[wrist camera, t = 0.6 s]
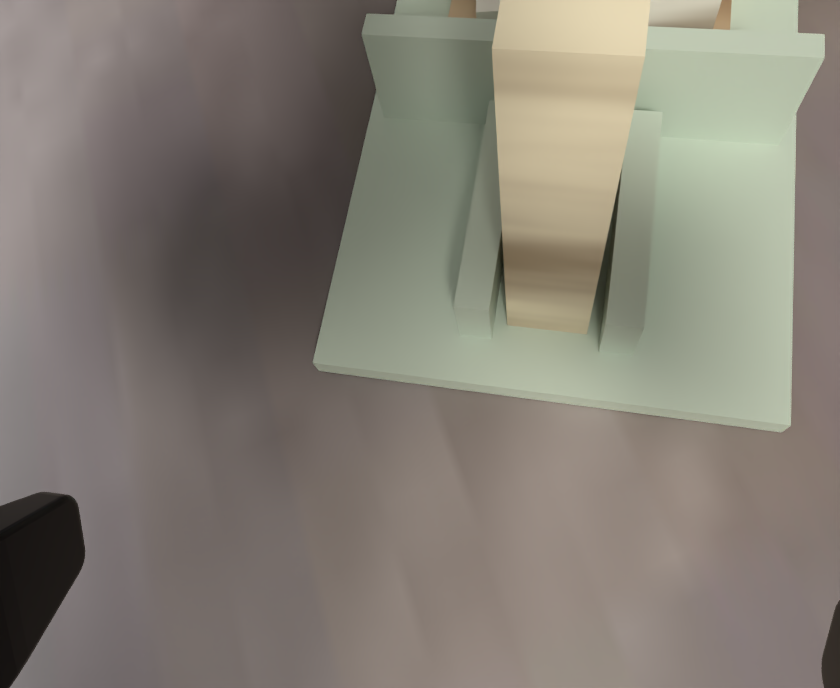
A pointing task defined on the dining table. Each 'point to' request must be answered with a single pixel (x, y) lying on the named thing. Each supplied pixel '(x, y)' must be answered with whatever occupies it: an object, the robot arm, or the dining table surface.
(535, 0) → the birch board
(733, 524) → the dining table surface
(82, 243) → the dining table surface
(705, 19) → the white offcut
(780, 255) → the offcut rack
